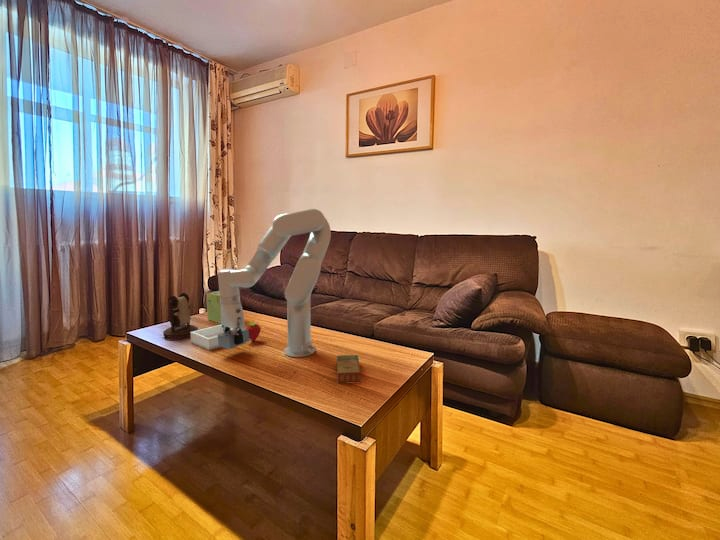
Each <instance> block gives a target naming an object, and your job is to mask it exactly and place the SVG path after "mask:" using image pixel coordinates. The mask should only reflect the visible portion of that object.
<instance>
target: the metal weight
mask: <svg viewBox="0 0 720 540" xmlns="http://www.w3.org/2000/svg"><path fill="white" fill-rule="evenodd" d="M238 330H239V328H238V329H237V331H238ZM235 335H236V333H235V331H234V329H232V330H230V331H227V332H224V333H221V334H219V335H218V343H219V348H223V349H228V350H232V349H234V348H236V347H239V346H241V345H243V344H246V343H247V342H250V338H249V331H248V329H246V328H245V329H244V332H243V343H241V344H238V345H236V342H235Z"/></svg>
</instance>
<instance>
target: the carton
mask: <svg viewBox="0 0 720 540" xmlns="http://www.w3.org/2000/svg"><path fill="white" fill-rule="evenodd" d="M336 371H337V372H336V376H337V381H336V382H337V384H348V383H347V382H362V380H361V379H362V370H361V365H360V360H359V355H357V354H351V355H350V354H349V355H348V354H346V355H337V356H336Z"/></svg>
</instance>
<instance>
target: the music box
mask: <svg viewBox="0 0 720 540" xmlns="http://www.w3.org/2000/svg"><path fill="white" fill-rule="evenodd" d="M167 300H168V301H167V303H168V305H169V311H168V314H169V316H170V317H169V324H170V327H168V328H166V329H165V330H164V331H163V337H164V336H166V337H165V338H180V340H183V338H184V337H187V336H191V333H190V332H193V331H197V330H199V328H198V326H196V325H193V324H191V318H192V317H191V314H190V308H191V306H190V305H189V304H190V303H189V302H190V296H189V295H188V294H187V293H185V292H182V293H180V294H179V296H178V297H177V296H175V295H171V296H169V298H168V299H167ZM175 313H179V316H178V315H177V314H175Z"/></svg>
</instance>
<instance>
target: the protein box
mask: <svg viewBox="0 0 720 540" xmlns="http://www.w3.org/2000/svg"><path fill="white" fill-rule="evenodd" d="M206 310H207V311H206V312H207V313H206V314H207V321H210V320H211V322H214V321H215V323H217V322H218V324H221V323H220V320H221V304H220V292H219V290H216V291H209V292H206Z"/></svg>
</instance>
